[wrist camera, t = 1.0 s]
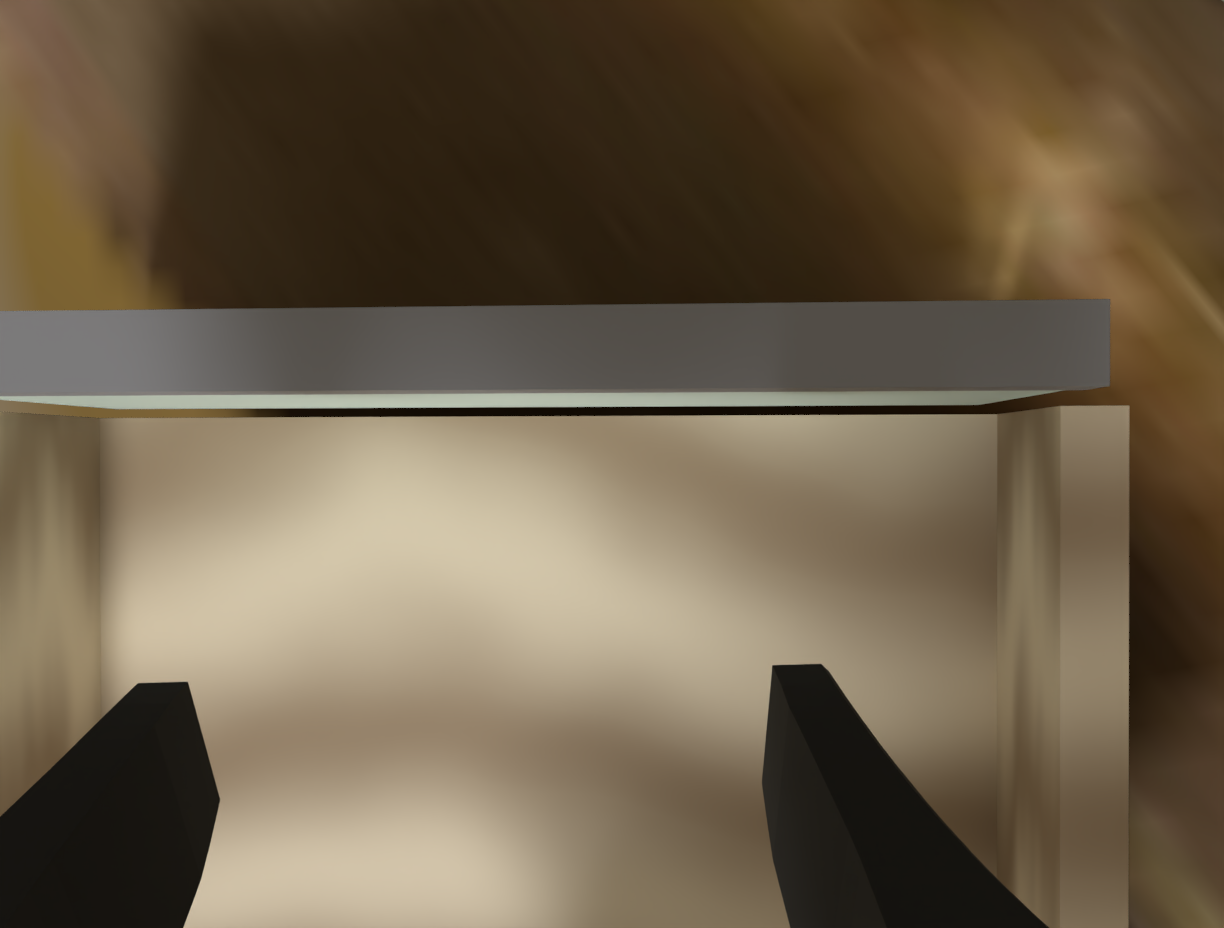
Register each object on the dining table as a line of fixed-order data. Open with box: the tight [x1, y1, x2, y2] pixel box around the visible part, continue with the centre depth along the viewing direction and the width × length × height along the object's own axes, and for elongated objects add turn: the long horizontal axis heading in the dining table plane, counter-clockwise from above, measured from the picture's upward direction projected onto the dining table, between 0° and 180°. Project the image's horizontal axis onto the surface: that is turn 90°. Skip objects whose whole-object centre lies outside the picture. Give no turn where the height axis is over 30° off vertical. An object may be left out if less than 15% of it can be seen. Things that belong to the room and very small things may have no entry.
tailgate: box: [0, 299, 1110, 409], centre depth 20 cm, size 1×19×7 cm, turn 90°
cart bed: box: [0, 406, 1129, 928], centre depth 22 cm, size 17×22×5 cm
